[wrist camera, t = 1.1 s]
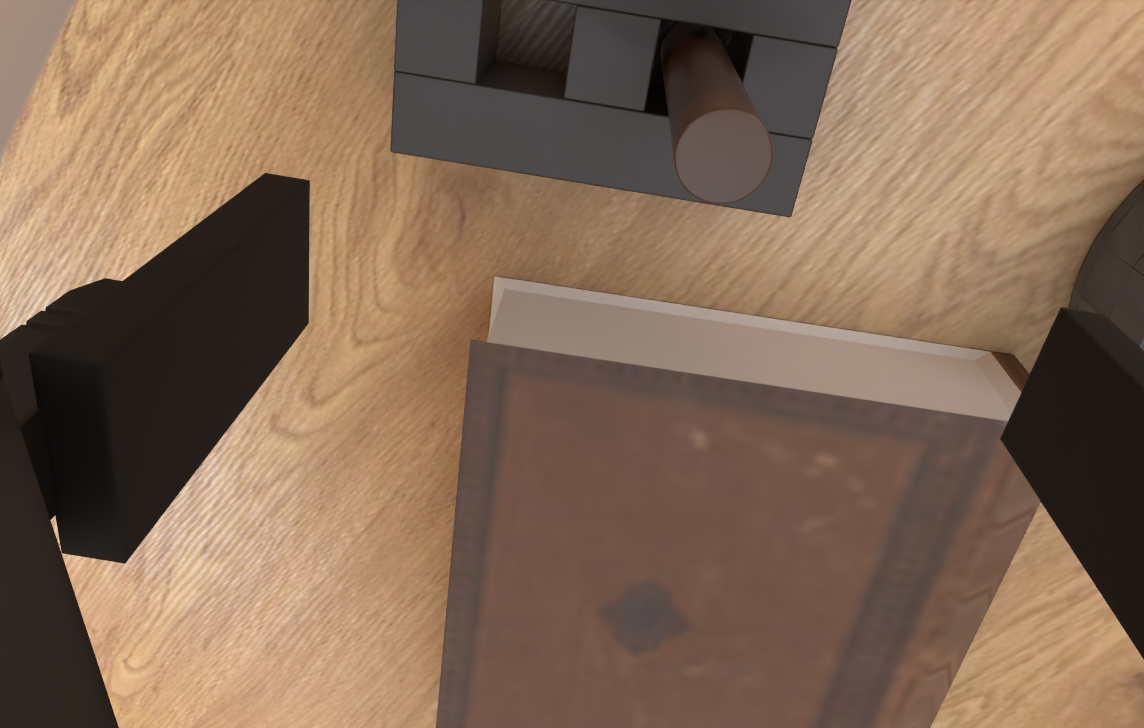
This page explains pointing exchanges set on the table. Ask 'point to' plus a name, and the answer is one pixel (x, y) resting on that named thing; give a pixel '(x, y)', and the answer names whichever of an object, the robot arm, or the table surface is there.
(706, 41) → the stirring stick
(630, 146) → the holder
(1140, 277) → the bowl
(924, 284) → the table surface
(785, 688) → the book
